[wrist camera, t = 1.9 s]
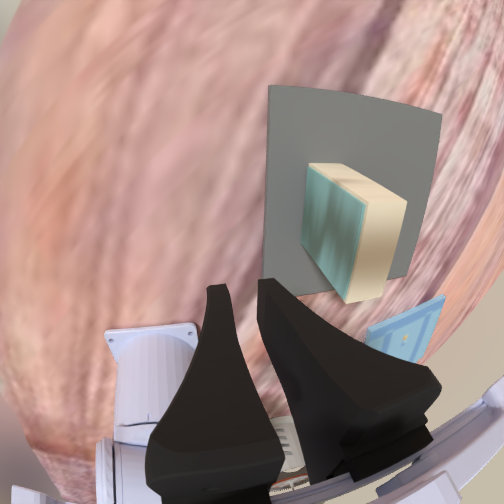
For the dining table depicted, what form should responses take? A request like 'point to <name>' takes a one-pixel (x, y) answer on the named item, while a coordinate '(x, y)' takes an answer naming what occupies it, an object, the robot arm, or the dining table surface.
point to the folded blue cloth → (406, 331)
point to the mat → (351, 155)
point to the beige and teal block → (350, 229)
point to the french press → (289, 455)
